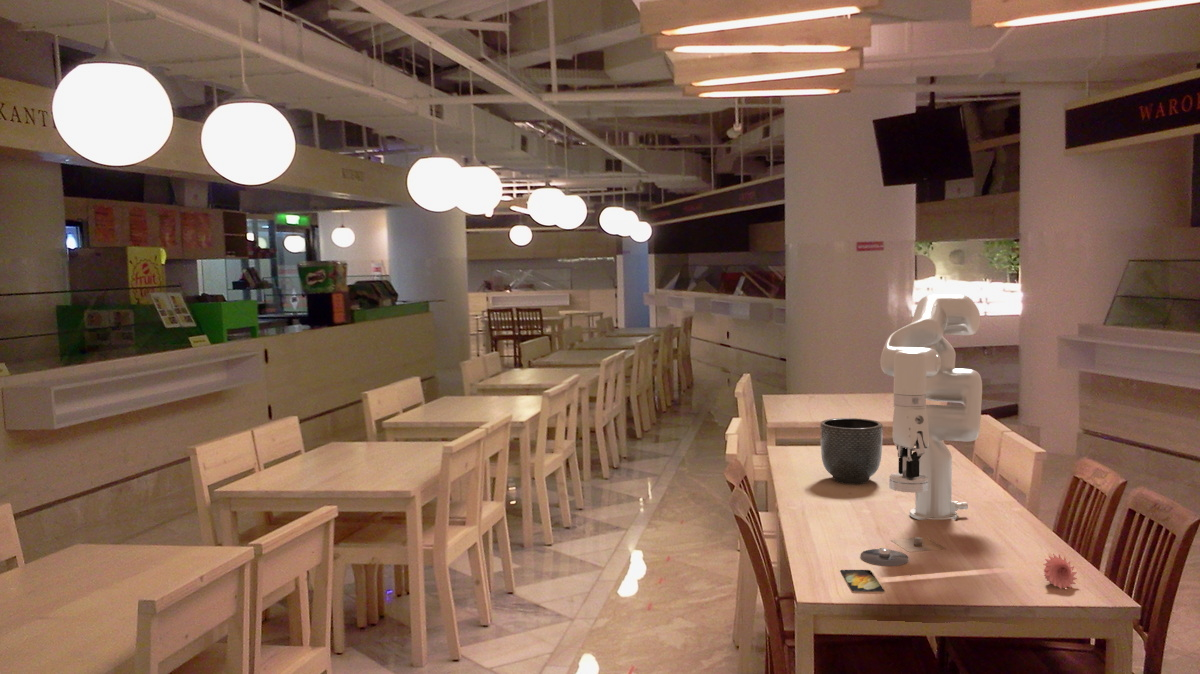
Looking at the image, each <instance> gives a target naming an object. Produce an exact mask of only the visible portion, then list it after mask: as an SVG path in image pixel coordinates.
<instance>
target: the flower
mask: <svg viewBox="0 0 1200 674" xmlns="http://www.w3.org/2000/svg"><path fill="white" fill-rule="evenodd" d="M1052 555H1053V556H1050V555H1048V558H1049V559H1048V558H1047V559H1046V558H1044V560H1045V561H1046V563H1043V567H1044V568H1043V576H1044V579H1045V580H1046V581H1047V582H1048V583H1049V584H1050V585H1053V586H1054V587H1058V588H1059V589H1061V590H1063V589H1064V588H1067V589H1068V588H1071V589H1072V588H1073V586H1072V585H1076V582H1075V581H1076V580H1077V579H1078V578H1077V577H1075V575H1076V574H1077V571H1073V570H1074V569H1075V566H1074V565H1073V566H1071V560H1069V561H1067V558H1066V556H1064V557H1061V554H1058V556H1056V555H1055V553H1053V554H1052Z"/></svg>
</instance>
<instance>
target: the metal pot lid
mask: <svg viewBox="0 0 1200 674" xmlns="http://www.w3.org/2000/svg"><path fill="white" fill-rule="evenodd" d="M860 559H861V560H862V561H863V562H865V563H869V564H872V565H876V566H881V567H884V566H886V567H887V566H888V567H895V566H896V567H897V566H901V565H906V564H908V562H909V556H908V555H907V554H906V553H905V552H904V553H903V552H901V551H899V550H893V549H890V548H885V547H881V548H872V549H866V550H863V551H861V553H860Z"/></svg>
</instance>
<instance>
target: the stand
mask: <svg viewBox="0 0 1200 674" xmlns="http://www.w3.org/2000/svg"><path fill="white" fill-rule="evenodd" d="M890 542H892V543H894V544H895V545H897V546H899V547H901V548H902V549H904V550H905V551H907V552H909V553H914V552H915V553H917V552H928V551H929V552H930V551H942V550H947V548H946V547H944V546H942V545H940V544H939V543H937V542H936V541H934V540H932V539H930V538H928V537H927V536H925V537H924V536H923V537H921V536H920V537H919V536H914V537H913V538H912V537H911V538H899V539H890Z"/></svg>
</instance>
